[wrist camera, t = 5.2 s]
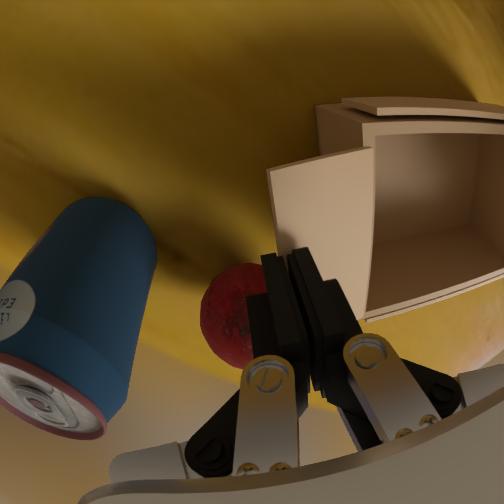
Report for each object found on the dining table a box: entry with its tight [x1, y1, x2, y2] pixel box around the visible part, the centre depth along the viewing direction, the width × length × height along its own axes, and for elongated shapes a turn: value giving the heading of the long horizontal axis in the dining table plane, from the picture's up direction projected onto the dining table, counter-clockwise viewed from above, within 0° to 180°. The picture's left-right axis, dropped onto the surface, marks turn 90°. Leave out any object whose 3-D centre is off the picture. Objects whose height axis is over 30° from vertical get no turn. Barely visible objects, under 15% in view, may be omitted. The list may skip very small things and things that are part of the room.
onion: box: [200, 263, 267, 369], centre depth 17 cm, size 6×6×8 cm
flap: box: [266, 146, 373, 320], centre depth 11 cm, size 4×8×1 cm, turn 9°
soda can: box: [0, 197, 157, 440], centre depth 13 cm, size 7×7×12 cm
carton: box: [314, 97, 504, 323], centre depth 15 cm, size 13×11×6 cm
